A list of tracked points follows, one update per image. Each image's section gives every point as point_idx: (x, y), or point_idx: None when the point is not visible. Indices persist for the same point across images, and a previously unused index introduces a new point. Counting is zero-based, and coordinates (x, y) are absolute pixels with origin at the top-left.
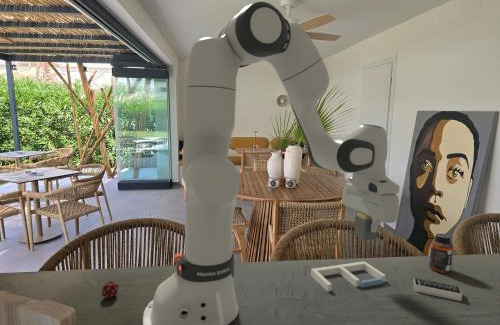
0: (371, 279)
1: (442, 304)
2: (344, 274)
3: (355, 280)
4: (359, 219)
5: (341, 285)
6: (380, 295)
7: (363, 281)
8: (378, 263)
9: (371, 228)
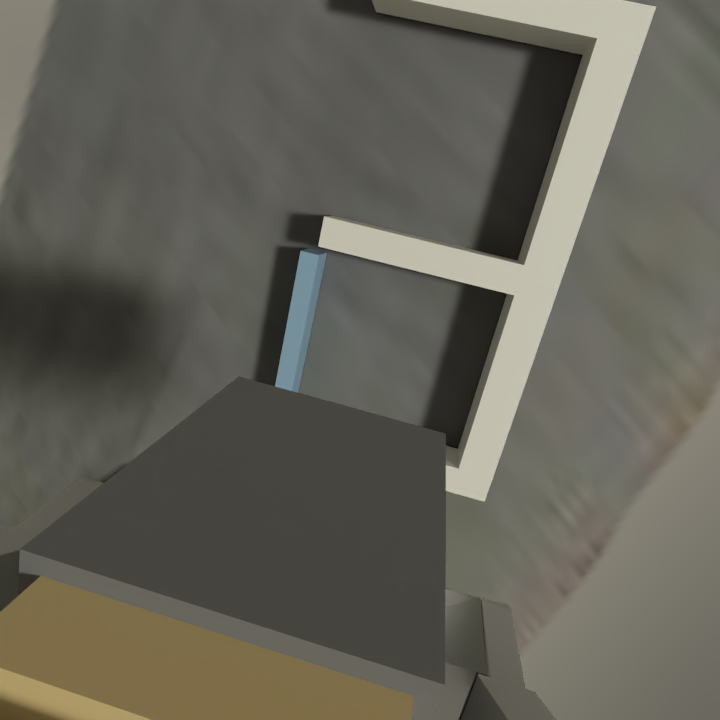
0: (300, 337)
1: (40, 460)
2: (456, 246)
3: (329, 217)
4: (266, 580)
5: (394, 144)
6: (204, 272)
7: (306, 268)
8: (463, 591)
9: (59, 509)
